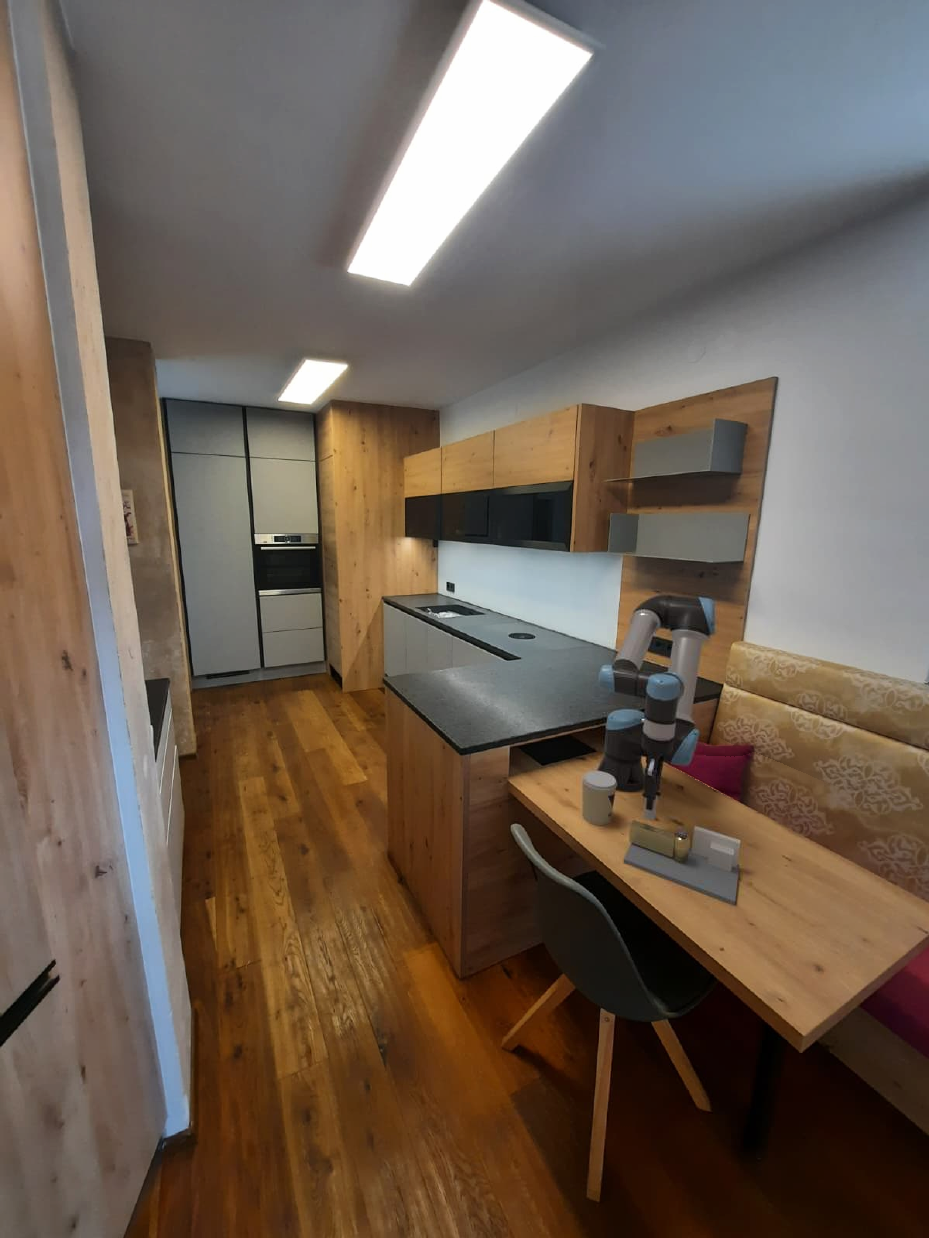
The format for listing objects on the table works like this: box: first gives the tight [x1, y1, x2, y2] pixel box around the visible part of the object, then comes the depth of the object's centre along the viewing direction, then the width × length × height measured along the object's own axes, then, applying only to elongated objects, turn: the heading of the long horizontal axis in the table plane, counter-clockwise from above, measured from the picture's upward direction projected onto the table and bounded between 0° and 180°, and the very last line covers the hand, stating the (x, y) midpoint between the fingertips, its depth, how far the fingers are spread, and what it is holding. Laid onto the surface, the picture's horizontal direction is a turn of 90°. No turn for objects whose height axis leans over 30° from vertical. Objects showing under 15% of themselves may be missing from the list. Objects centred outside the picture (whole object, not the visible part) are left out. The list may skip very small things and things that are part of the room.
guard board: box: [623, 825, 741, 906], centre depth 116 cm, size 14×24×8 cm, turn 57°
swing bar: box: [628, 819, 692, 862], centre depth 120 cm, size 14×4×6 cm, turn 57°
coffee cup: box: [581, 770, 617, 826], centre depth 135 cm, size 9×9×12 cm
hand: (648, 818), depth 127 cm, fingers closed
